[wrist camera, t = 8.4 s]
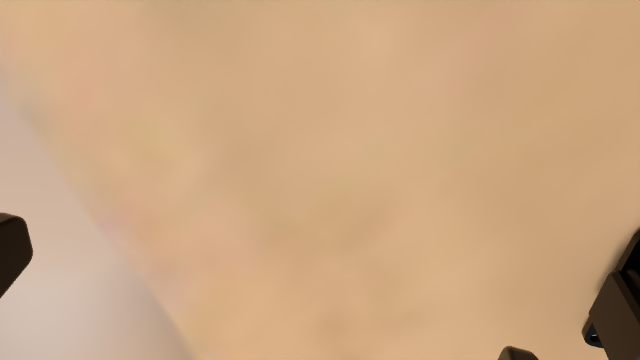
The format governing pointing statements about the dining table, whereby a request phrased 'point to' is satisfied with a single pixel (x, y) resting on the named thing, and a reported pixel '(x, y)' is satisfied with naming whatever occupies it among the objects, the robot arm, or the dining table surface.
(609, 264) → the dining table surface
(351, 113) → the dining table surface
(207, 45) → the dining table surface
